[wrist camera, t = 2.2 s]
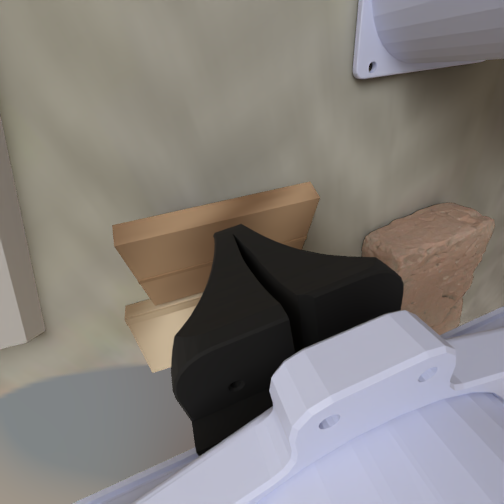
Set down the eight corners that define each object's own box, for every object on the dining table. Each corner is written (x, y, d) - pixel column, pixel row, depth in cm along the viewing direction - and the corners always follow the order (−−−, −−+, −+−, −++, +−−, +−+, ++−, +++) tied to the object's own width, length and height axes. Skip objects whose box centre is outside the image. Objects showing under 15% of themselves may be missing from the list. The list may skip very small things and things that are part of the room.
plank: (310, 181, 15) (320, 198, 14) (289, 252, 21) (296, 266, 20) (112, 225, 13) (114, 247, 12) (152, 289, 19) (155, 306, 18)
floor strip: (301, 256, 21) (309, 266, 20) (301, 311, 25) (308, 322, 24) (125, 305, 19) (124, 319, 18) (152, 360, 22) (152, 374, 21)
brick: (423, 318, 33) (460, 349, 29) (361, 348, 32) (390, 384, 28) (443, 192, 23) (502, 214, 20) (356, 229, 22) (399, 260, 19)
